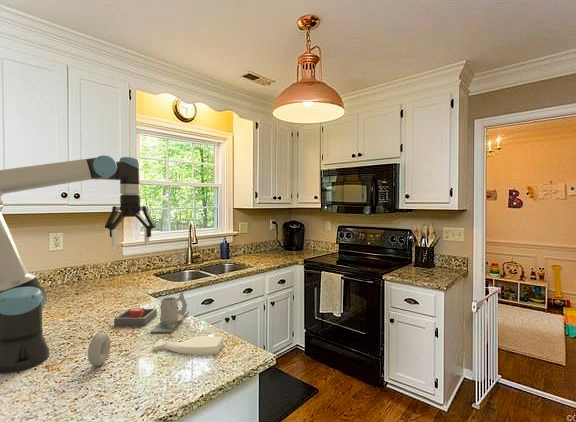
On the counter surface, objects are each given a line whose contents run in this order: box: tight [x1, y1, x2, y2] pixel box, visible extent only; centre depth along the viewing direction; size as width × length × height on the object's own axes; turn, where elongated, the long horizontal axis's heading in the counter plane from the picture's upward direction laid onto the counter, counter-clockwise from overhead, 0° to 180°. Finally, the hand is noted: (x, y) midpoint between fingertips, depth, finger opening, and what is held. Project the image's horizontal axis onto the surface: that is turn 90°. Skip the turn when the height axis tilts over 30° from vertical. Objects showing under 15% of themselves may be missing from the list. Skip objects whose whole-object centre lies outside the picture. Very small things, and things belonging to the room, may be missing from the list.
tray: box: [113, 308, 158, 327], centre depth 143 cm, size 13×13×3 cm
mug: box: [159, 291, 188, 324], centre depth 141 cm, size 8×12×12 cm, turn 133°
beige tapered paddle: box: [152, 335, 224, 356], centre depth 116 cm, size 3×11×24 cm
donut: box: [87, 332, 111, 367], centre depth 103 cm, size 10×3×10 cm, turn 4°
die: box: [129, 307, 145, 318], centre depth 143 cm, size 5×5×5 cm
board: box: [149, 311, 190, 334], centre depth 141 cm, size 24×8×1 cm, turn 1°
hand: (130, 245), depth 135 cm, fingers open, 13 cm apart
